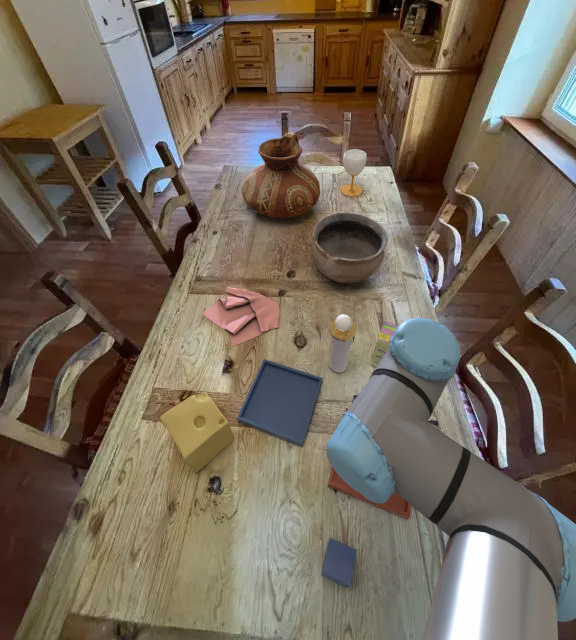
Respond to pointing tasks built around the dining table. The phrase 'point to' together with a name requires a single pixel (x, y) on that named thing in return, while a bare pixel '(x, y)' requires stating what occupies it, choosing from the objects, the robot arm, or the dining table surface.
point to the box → (383, 342)
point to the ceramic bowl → (348, 246)
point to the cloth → (244, 314)
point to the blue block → (339, 563)
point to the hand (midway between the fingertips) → (378, 449)
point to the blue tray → (281, 402)
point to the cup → (353, 170)
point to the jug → (281, 180)
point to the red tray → (392, 505)
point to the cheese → (198, 430)
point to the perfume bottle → (341, 342)
